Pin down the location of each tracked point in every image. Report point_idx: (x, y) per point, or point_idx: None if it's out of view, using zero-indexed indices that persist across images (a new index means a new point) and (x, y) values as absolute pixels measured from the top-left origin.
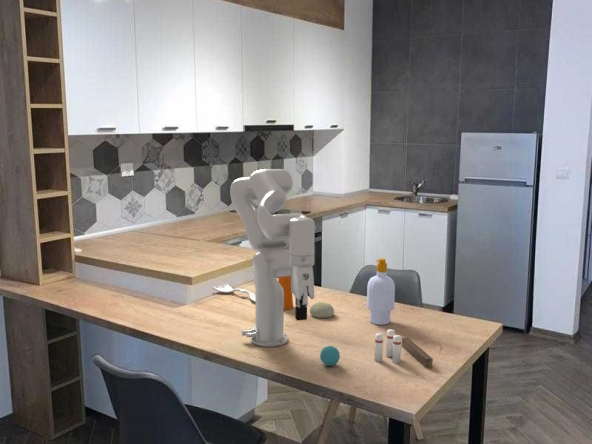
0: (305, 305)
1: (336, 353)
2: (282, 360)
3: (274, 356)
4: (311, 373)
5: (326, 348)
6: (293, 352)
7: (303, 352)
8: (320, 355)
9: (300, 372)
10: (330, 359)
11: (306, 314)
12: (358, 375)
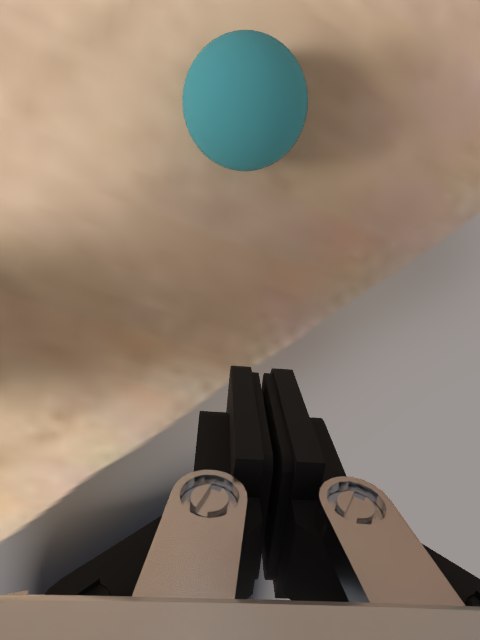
0: (435, 560)
1: (300, 72)
2: (119, 333)
3: (62, 355)
4: (304, 249)
5: (255, 130)
6: (26, 250)
7: (35, 195)
8: (234, 169)
9: (276, 295)
10: (302, 128)
11: (299, 401)
12: (423, 4)
